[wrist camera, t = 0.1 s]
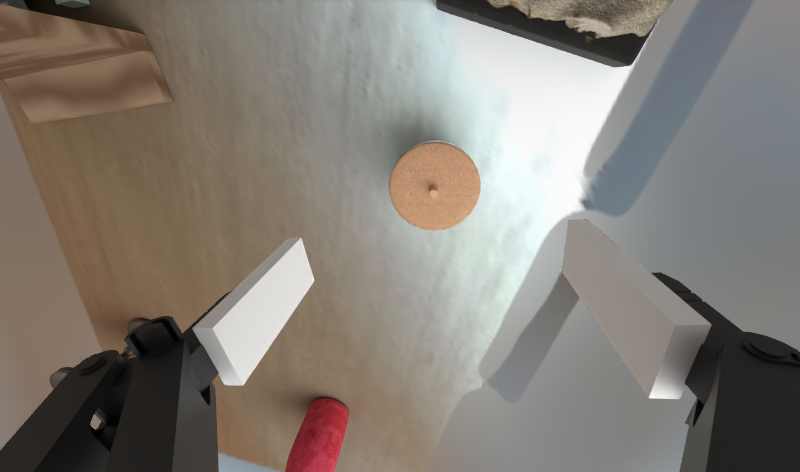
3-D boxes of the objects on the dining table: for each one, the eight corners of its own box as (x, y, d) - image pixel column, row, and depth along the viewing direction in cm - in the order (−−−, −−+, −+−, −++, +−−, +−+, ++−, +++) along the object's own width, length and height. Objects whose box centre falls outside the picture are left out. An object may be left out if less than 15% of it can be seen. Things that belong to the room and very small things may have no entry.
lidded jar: (396, 134, 39) (384, 145, 31) (477, 133, 38) (487, 144, 29) (398, 208, 44) (388, 235, 35) (470, 209, 42) (477, 238, 34)
